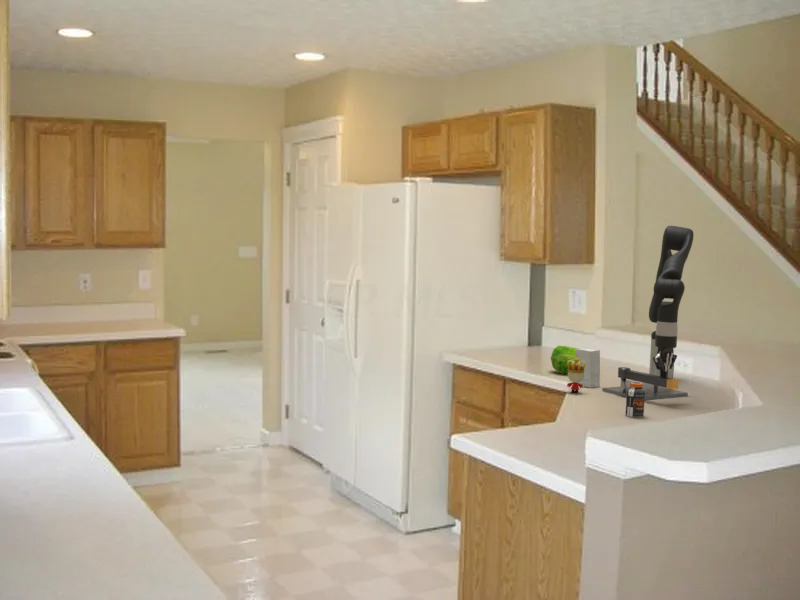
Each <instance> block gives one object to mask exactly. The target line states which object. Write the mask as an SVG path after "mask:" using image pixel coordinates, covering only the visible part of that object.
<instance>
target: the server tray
mask: <svg viewBox="0 0 800 600" xmlns="http://www.w3.org/2000/svg"><path fill="white" fill-rule="evenodd" d="M626 380H627V379H625V378H620V386H610V387H602V391H601V392H605V393H608V394H613V395H617V396H621V397H623V398H624V397H625V398H627V390H626ZM688 395H689V392H685V391H681V390H677V389H671V391H665V392H655V391H654V393H645V401H651V400H660V399H661V400H662V399H670V398H671V399H672V398H680V397H688Z"/></svg>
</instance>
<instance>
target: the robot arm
mask: <svg viewBox="0 0 800 600" xmlns="http://www.w3.org/2000/svg"><path fill="white" fill-rule="evenodd" d="M693 241H694V230H693V229H691V228H688V227H683V226H678V225H668V226H666V228H665V229H664V231H663V235H662V242H661V251H660V257H659V262H658V263H659V264H658V267H657V272H656V277H655V282H654V285H653V294H652V298H651V302H650V304H649V308H648V309H649V310H648V318H649V320H650V322H652V323H655V324H656V326H655V331H652V333H651V339H650V355H649V357H650V358H649V370H648V372H649V373H648V374H652V375H657V376H662V377H667V378H671V379H674V375H675V374H674V373H675V372H674V371H675V363H676V360H677V358H678V355H677V354H675V353H674V352H675V350H674V349H676V348H677V344H678V327H679V326H678V317H679V315H678V314H679V308H680V304H681V301H682V298H683V296H684V293H685V289H686V287H685V283H684V281H682V278H683V273H684V272H683V271H684V267H685V264H686V262H687V259H688V257H689V254H690V252H691V249H692V245H693ZM672 251H676V252H675V253H673V252H672ZM665 299H670V300H671V299H672V301H664V300H665Z"/></svg>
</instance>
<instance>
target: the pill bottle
mask: <svg viewBox="0 0 800 600" xmlns="http://www.w3.org/2000/svg"><path fill="white" fill-rule="evenodd" d="M642 385H643V384H642V383H639V382H631V383H630V388H629V389H628V390H627V397H625V415H626V416H627V417H630V418H643V417H644V412H645V401H646V400H645V391H644V390H643V389H642Z"/></svg>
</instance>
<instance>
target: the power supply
mask: <svg viewBox="0 0 800 600" xmlns="http://www.w3.org/2000/svg"><path fill="white" fill-rule="evenodd" d="M631 382H639V381H634V380H630V379H626V390H628V389H629V388H630V383H631ZM639 383H642V384H643V385H642V389H643V390H644V391H645V393H654V385H652V384H648V383H643V382H639Z"/></svg>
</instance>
